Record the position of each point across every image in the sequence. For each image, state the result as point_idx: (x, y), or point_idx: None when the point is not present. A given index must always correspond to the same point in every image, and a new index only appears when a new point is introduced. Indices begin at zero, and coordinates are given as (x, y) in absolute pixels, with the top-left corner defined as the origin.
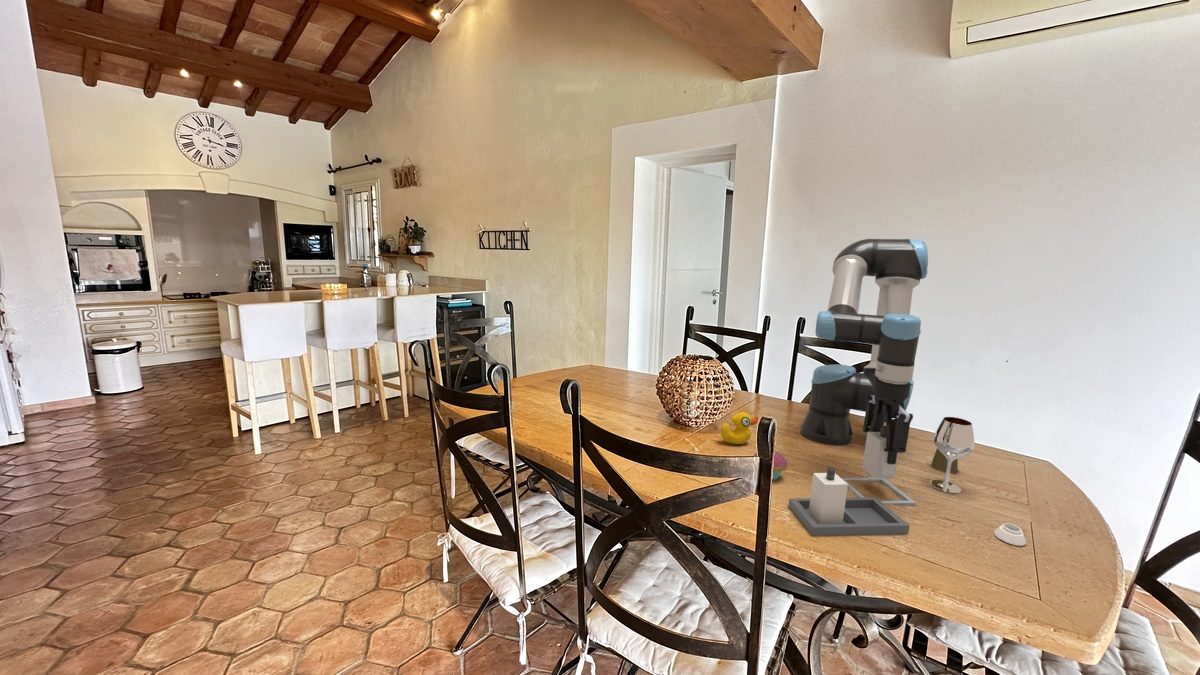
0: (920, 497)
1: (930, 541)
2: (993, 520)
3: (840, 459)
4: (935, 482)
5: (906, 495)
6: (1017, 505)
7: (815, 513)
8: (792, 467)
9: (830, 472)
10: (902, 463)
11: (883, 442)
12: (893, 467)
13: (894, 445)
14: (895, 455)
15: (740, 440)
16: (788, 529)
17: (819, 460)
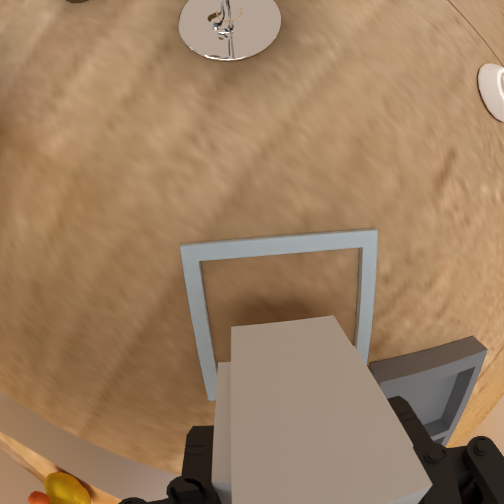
0: (321, 169)
1: (493, 296)
2: (433, 45)
3: (52, 315)
4: (202, 37)
5: (329, 234)
6: None
7: None
8: (153, 455)
9: None
10: (49, 89)
11: None
12: (369, 372)
13: (465, 502)
14: (424, 438)
15: (83, 494)
16: None
17: (82, 382)
